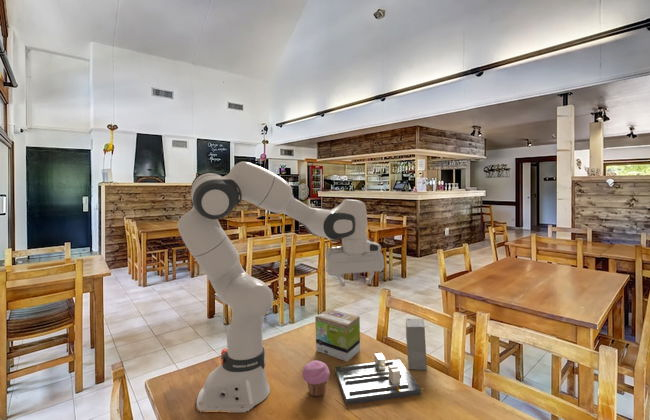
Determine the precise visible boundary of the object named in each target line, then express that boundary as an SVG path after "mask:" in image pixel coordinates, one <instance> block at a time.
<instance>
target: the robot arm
mask: <svg viewBox="0 0 650 420" xmlns="http://www.w3.org/2000/svg"><path fill="white" fill-rule="evenodd" d="M242 200H243V201H245V202H248V203H250V204H252V205H253V206H256V207H257V208H260V209H262V210H265V211H267V212H271V213H275V214H284V215H286V216H287V217H289V218H291V219H292V220H295V221H297V222H298V223H301V224H302V225H303V227H304V228H305V230H307V232H308V233H309V234H311V235H312V236H315V237H321V238H325V239H328V240H332V241H337V240H340V239H341V246H335V247H333V246H331V247H329V248H327V249H326V251H325V253H324V254H325V255H324V256H325V259H326V266H325V270H326V273H327V274H328V275H330V276H331V275H332V276H334V275H336V277H337V280H339V286H340V287H346V281H345V279H342V275H345V274H359V273H368V277H366V278H365V284H367V285H371V284H372V279H373V278H374V276H375V272H382V271H384V269H385V260H384V255H383V253H382V251H381V250H382V246H381V245H380V243H378V242H375V241H372V240H369V239H368V234H367V227H368V213H367V206H366V204H365V202H363V200H358V199H350V198H345V199H343V200H342V202H341V203H340V204H338V205H337V206H335V207H334V208H331V209H325V208H323V207H321V208H320V207H311V206H309V205H307V204H305V203H304V202H302V201H300V199H299V200H298V199H297V198H295V197H294V196H293V188H292V186H291V184H290V183H288V182H287V181H286V180H285V179H284V178H282V177H281V176H280V175H277V174H276V173H275V172H273V171H272V170H271V171H270V170H268V169H267V168H264V167H262V166H259V165H257V164H255V163H252V162H249V161H239V162H237V163H236V164H234V166H232V167H231V169H230V171H229V173H228V174H226V175H224V176H222V175H221V174H220V173H218V172H213V171H206V172H205V171H204V172H202V173H200V174H199V175H197V176H196V177H195V178H194V179H193V181H192V183H191V186H190V201H191V202H190V203H191V206H192V207H191V209H190V210H188V211H187V212H185V213H184V214H183V215H182V216H181V217H180V218H179V220H178V222H177V230H178V232H179V235H180V237H181V239H182V242H183V243H184V244H185V246H186V248H187V250H188V251H189V253H190V255H192V257H193V258H194V260H195V261H196V262H197V264H198V265H199V266H200V268H201V269H202V270H203V272H204V274H205V275H206V276H207V278H208V280H209V282H210V285H211V286H212V288H213V289H214V292H215V294H216V296H217V297H218V298H219V300H220V301H221V302H222V303H224V304H225V305H227V306H229V307H230V308H231V309H230V310H231V319H230V321H231V322H230V324H229V325H228V326H227V328H226V347H225V348H222V349H221V352H220V355H221V357H220V362H221V364H219V365H218V366H217V367H216V368H215V369H213V370H212V371H211V372H209V374H208V376H207V377H206V380H205V383H204V386H203V387H202V388H201V389H200V390H199V393H198V394H197V398H196V404H197V405H196V409H197V408H198V409H199V410H200V411H216V410H218V411H231V412H230V413H247V412H246V411H248V412H249V410H250V409H251V410H252V409H253V408H254V407H255V406H256V405H258V404H260V403H261V402H263V401H265V400H266V398H267V397H268V396H269V394H270V391H271V388H270V385H269V382H268V378H267V373H266V368H265V367H266V353H265V352H266V351H265V348H264V345H263V344H264V343H263V340H264V339H263V327H264V326H263V325H264V319H265V315H266V314H267V313H268V312H270V309H271V308H272V307H273V302H274V293H273V291H272V289H271V288H270V287H269V286H268V285H267V284H266V283H265V282H264V281H262V280H261V279H258V278H257V277H253V276H251V275H250V273H249V274H248V272H246V271H245V270H244V268H243V266H242V264H241V263H242V262H241V260H240V253H239V252H238V250H237V249H236V247H235V246H234V244H233V243H232V241H231V239H230V237H229V236H228V235H227V234H226V232H225V230H224V229H223V227H222V226H221V223H220V221H219V220H220V219H223V218H225V217H227V216H228V215H229V214H230V213H231V212H232V211H233V210H234V209H235V207H236V206H238V205H239V203H241V202H242ZM199 404H202V405H199ZM251 410H250V411H251Z"/></svg>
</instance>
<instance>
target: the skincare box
mask: <svg viewBox="0 0 650 420" xmlns="http://www.w3.org/2000/svg"><path fill="white" fill-rule="evenodd" d="M425 328H426V327H425V322H424V319H423V318H406V319H405V337H406V352H407V362H408V369H409V370H418V371H428V366H427V365H428V364H427V362H428V361H427V349H426V348H427V347H426V345H427V344H426V329H425Z"/></svg>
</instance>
